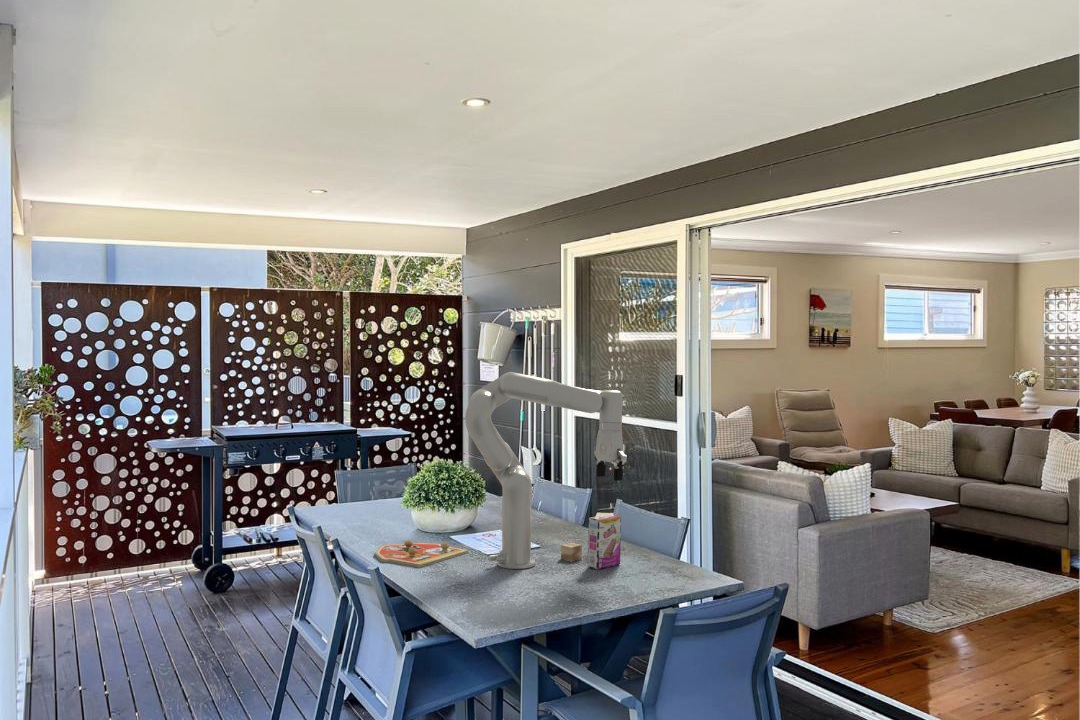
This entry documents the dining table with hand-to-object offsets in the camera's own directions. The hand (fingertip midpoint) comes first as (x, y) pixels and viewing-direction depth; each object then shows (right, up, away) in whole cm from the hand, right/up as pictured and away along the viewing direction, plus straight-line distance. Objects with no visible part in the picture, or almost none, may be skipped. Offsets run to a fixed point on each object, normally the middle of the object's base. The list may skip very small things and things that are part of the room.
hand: (609, 478), depth 287 cm
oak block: (-13, -28, +5) cm, 31 cm away
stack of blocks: (0, -29, +24) cm, 37 cm away
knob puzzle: (-67, -29, +11) cm, 74 cm away
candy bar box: (-2, -29, -4) cm, 29 cm away
